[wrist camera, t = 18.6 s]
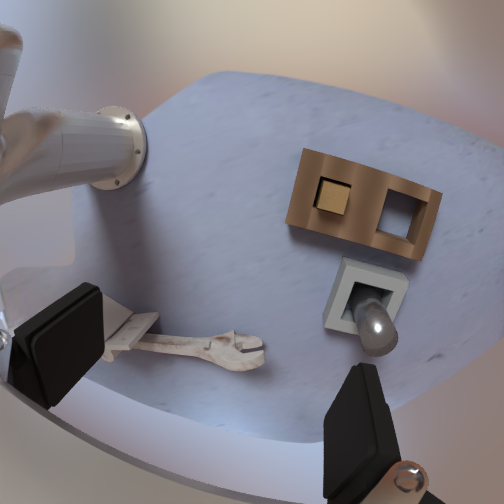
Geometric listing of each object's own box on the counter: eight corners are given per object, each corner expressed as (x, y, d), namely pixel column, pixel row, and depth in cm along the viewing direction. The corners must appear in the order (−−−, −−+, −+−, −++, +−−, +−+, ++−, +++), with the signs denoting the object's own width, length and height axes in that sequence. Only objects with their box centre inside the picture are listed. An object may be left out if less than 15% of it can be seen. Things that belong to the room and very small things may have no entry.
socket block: (286, 217, 39) (284, 223, 35) (303, 149, 36) (303, 148, 32) (412, 253, 37) (421, 261, 34) (431, 190, 34) (442, 193, 31)
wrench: (116, 320, 52) (272, 329, 43) (119, 329, 53) (274, 339, 44) (89, 341, 45) (258, 362, 36) (93, 350, 45) (260, 373, 36)
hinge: (160, 311, 46) (130, 346, 37) (158, 338, 48) (131, 374, 38) (91, 286, 47) (55, 312, 38) (92, 312, 49) (59, 339, 40)
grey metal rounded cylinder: (344, 303, 41) (356, 353, 29) (353, 277, 39) (371, 321, 28) (370, 309, 40) (388, 359, 29) (379, 284, 39) (404, 329, 28)
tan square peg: (315, 201, 37) (317, 207, 32) (321, 178, 36) (324, 181, 31) (338, 207, 37) (343, 214, 32) (344, 185, 36) (350, 188, 31)
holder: (322, 314, 42) (323, 327, 38) (342, 256, 39) (346, 265, 36) (379, 327, 41) (383, 340, 38) (401, 272, 38) (409, 282, 35)
